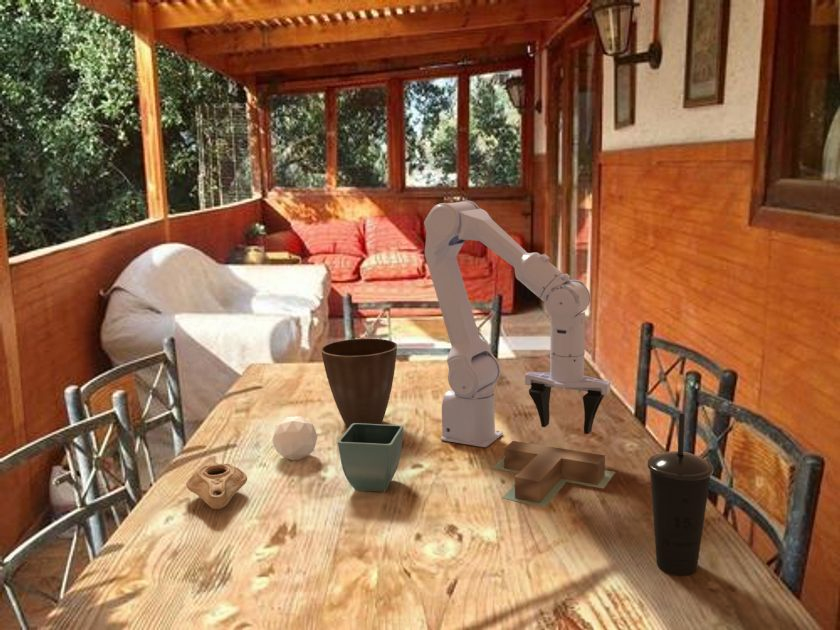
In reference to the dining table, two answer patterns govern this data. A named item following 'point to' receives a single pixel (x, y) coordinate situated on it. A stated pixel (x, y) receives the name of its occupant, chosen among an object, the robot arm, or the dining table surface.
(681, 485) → the drinking cup
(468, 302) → the robot arm
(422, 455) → the dining table surface
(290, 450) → the geometric ball
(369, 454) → the flower pot
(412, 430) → the dining table surface
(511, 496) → the t mat
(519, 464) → the t block
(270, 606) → the dining table surface
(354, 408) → the plant pot
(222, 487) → the pottery oil lamp
